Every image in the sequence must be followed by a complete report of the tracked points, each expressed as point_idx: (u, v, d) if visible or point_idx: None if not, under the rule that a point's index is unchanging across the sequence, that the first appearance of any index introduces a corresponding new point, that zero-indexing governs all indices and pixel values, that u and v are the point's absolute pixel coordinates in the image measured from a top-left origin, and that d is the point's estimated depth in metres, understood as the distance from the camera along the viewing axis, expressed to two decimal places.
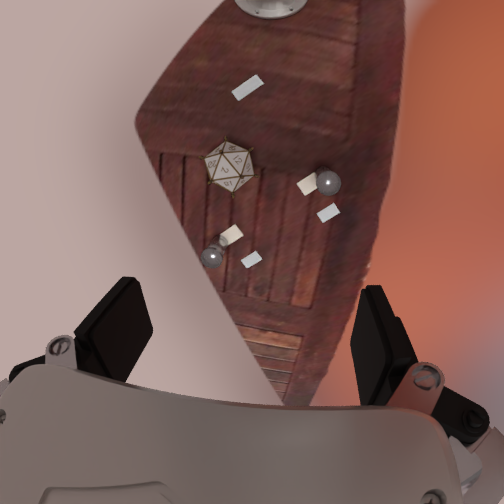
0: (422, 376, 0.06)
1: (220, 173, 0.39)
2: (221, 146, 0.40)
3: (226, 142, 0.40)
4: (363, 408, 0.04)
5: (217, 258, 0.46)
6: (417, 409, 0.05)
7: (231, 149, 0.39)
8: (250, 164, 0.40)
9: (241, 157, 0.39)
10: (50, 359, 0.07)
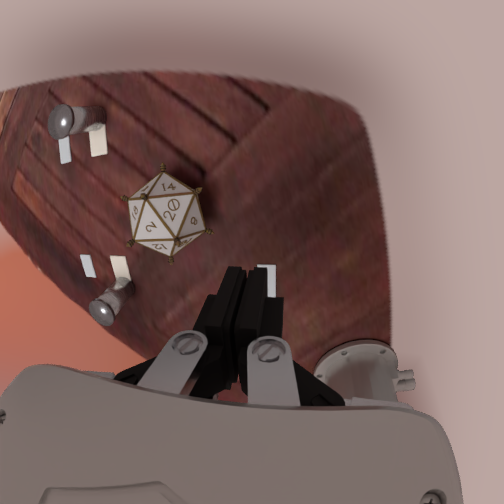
0: (264, 351, 0.07)
1: (149, 217, 0.22)
2: (196, 227, 0.25)
3: (201, 232, 0.26)
4: (363, 408, 0.04)
5: (55, 131, 0.20)
6: (279, 380, 0.06)
7: (180, 243, 0.25)
8: None
9: (162, 249, 0.25)
10: (182, 359, 0.07)
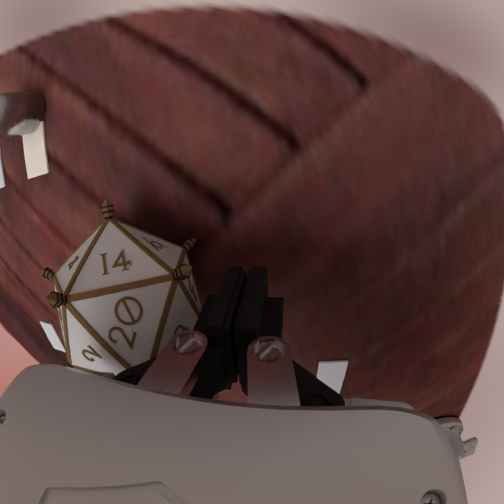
0: (264, 351, 0.07)
1: (81, 337, 0.09)
2: None
3: None
4: (363, 408, 0.04)
5: None
6: (279, 380, 0.06)
7: None
8: None
9: None
10: (182, 359, 0.07)
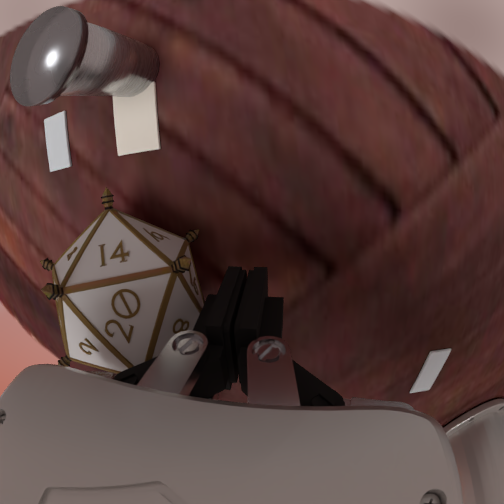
0: (263, 351, 0.07)
1: (78, 330, 0.08)
2: None
3: None
4: (363, 408, 0.04)
5: (28, 84, 0.05)
6: (279, 380, 0.06)
7: None
8: None
9: None
10: (182, 360, 0.07)
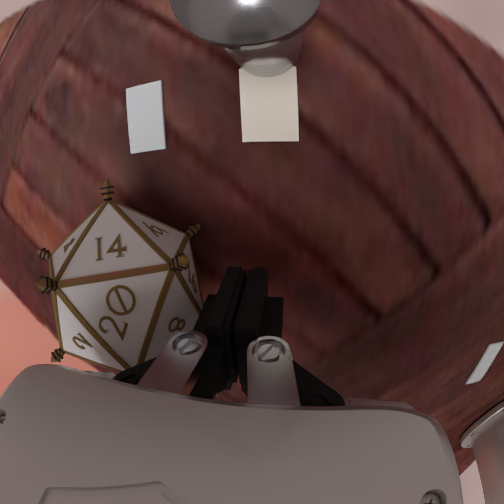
0: (264, 351, 0.07)
1: (72, 324, 0.08)
2: None
3: None
4: (363, 408, 0.04)
5: (221, 13, 0.04)
6: (279, 380, 0.06)
7: None
8: None
9: None
10: (182, 359, 0.07)
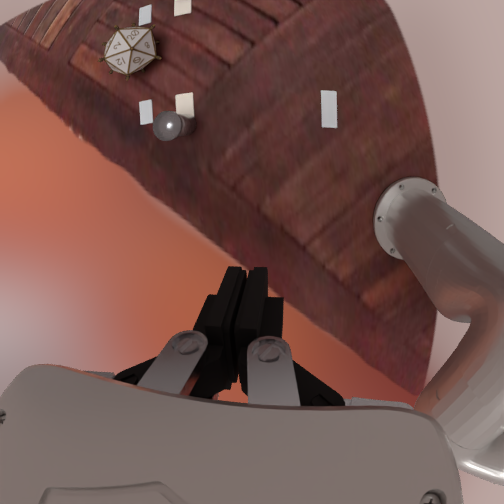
0: (264, 351, 0.07)
1: (117, 40, 0.23)
2: (148, 50, 0.26)
3: (152, 56, 0.27)
4: (363, 408, 0.04)
5: None
6: (279, 380, 0.06)
7: (135, 58, 0.26)
8: (117, 71, 0.28)
9: (122, 65, 0.26)
10: (182, 359, 0.07)
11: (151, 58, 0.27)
